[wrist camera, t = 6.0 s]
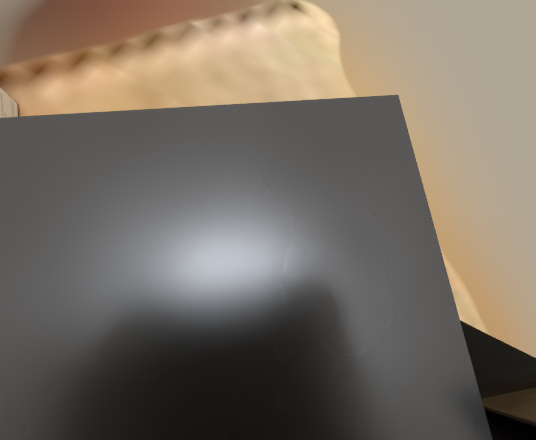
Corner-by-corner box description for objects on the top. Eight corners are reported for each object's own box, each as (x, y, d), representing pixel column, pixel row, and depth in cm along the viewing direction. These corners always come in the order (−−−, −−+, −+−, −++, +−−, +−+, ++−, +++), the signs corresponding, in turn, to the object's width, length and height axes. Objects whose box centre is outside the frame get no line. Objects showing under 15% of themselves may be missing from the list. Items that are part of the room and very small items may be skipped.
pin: (288, 358, 15) (527, 566, 3) (179, 377, 14) (-94, 751, 2) (273, 253, 16) (397, 94, 4) (171, 265, 15) (-33, 120, 3)
